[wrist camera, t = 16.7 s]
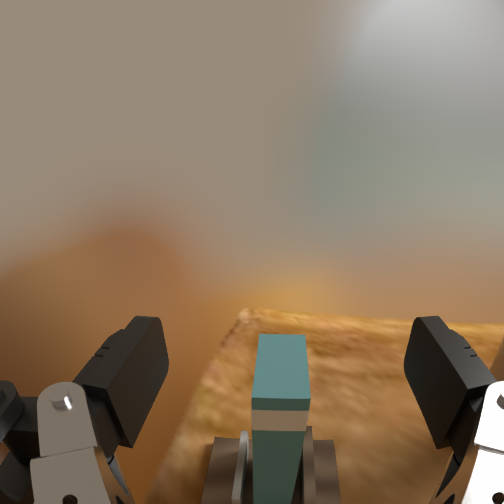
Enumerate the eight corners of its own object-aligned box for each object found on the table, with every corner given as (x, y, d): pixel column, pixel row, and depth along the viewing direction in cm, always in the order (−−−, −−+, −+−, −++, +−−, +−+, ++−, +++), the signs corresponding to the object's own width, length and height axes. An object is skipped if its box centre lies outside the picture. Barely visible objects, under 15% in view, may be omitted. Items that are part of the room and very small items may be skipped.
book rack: (340, 530, 23) (352, 513, 21) (198, 527, 25) (189, 509, 23) (331, 445, 37) (338, 419, 35) (215, 442, 38) (211, 416, 36)
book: (289, 510, 26) (310, 398, 20) (253, 509, 26) (251, 397, 20) (290, 458, 34) (305, 334, 27) (258, 457, 34) (259, 333, 27)
